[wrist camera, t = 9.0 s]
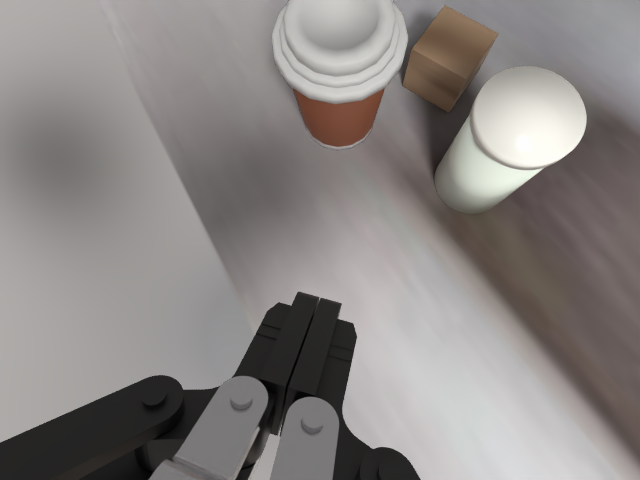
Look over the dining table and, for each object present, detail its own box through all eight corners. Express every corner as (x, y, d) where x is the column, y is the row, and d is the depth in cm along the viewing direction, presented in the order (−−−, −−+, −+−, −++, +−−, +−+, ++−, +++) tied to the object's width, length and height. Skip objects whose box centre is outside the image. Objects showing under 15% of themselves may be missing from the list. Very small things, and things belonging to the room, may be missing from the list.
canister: (470, 133, 35) (528, 47, 24) (522, 185, 33) (609, 117, 23) (416, 177, 34) (452, 108, 23) (468, 231, 33) (531, 185, 22)
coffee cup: (404, 145, 35) (436, 52, 23) (308, 177, 34) (291, 100, 23) (368, 62, 37) (382, -62, 25) (277, 92, 36) (248, -19, 25)
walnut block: (430, 47, 37) (444, 5, 32) (477, 73, 36) (498, 33, 31) (402, 86, 36) (411, 48, 31) (448, 113, 35) (465, 79, 30)
